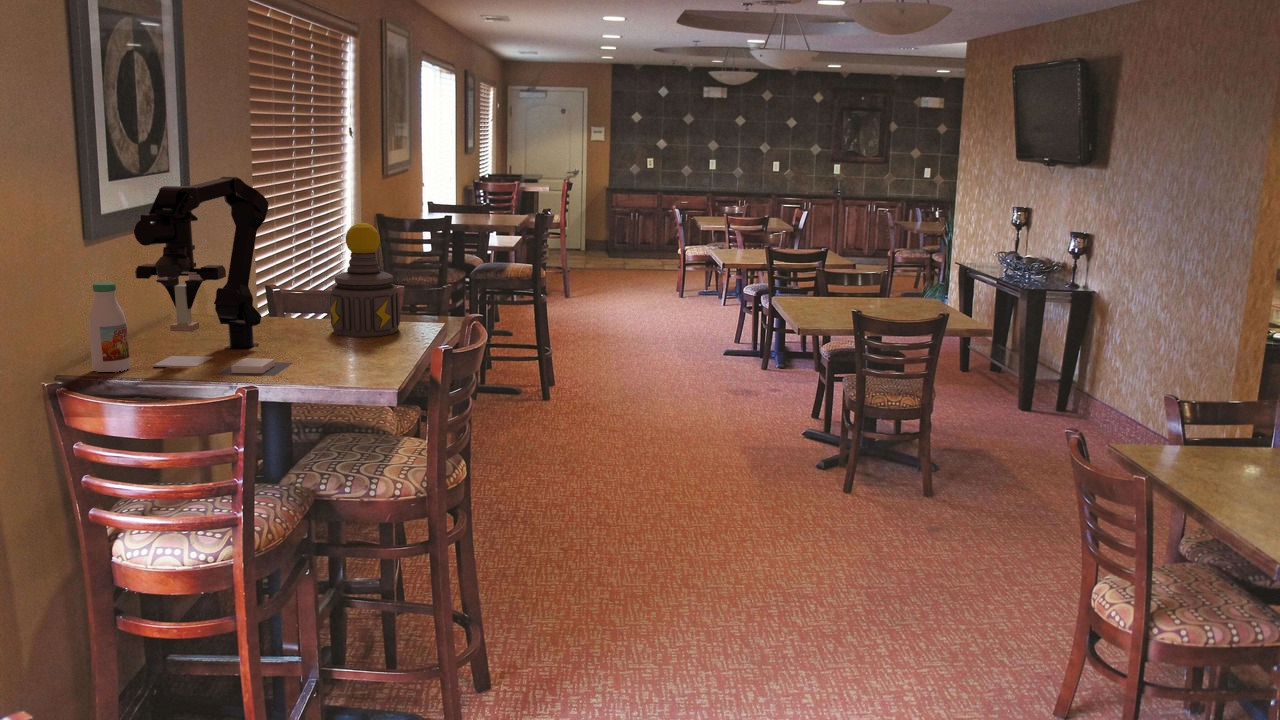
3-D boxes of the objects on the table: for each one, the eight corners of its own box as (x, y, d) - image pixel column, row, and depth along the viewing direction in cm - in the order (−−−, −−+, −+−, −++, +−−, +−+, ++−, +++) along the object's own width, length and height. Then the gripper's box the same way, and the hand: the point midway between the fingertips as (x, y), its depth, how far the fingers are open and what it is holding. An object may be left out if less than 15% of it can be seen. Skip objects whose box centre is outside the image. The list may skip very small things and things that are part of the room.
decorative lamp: (354, 341, 273) (349, 227, 267) (317, 330, 286) (312, 221, 279) (414, 332, 287) (411, 223, 280) (377, 322, 299) (373, 218, 293)
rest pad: (171, 358, 249) (171, 355, 249) (213, 359, 249) (213, 356, 249) (152, 367, 239) (152, 365, 239) (196, 368, 239) (196, 366, 239)
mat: (238, 363, 245) (238, 361, 245) (293, 364, 245) (293, 362, 245) (216, 376, 233) (216, 374, 232) (274, 377, 233) (274, 375, 233)
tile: (244, 358, 241) (231, 365, 233) (274, 358, 241) (262, 366, 233) (244, 365, 241) (231, 373, 233) (274, 366, 241) (262, 374, 233)
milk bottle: (89, 374, 232) (80, 286, 227) (96, 366, 239) (88, 281, 234) (127, 373, 234) (119, 285, 229) (133, 365, 241) (125, 280, 237)
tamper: (177, 328, 244) (174, 283, 242) (199, 328, 244) (196, 284, 242) (170, 331, 240) (167, 286, 238) (192, 331, 240) (189, 287, 238)
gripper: (121, 244, 230) (127, 313, 233) (206, 246, 230) (210, 315, 234) (143, 239, 241) (149, 305, 244) (224, 241, 241) (228, 307, 245)
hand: (183, 308), depth 241 cm, fingers closed on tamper, 2 cm apart
